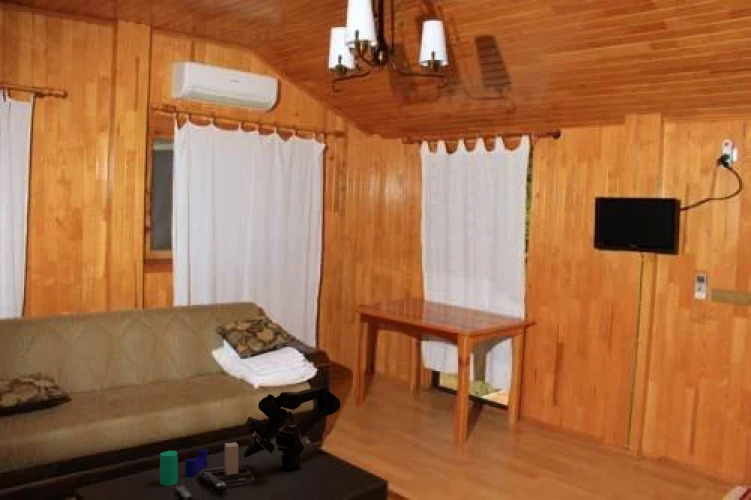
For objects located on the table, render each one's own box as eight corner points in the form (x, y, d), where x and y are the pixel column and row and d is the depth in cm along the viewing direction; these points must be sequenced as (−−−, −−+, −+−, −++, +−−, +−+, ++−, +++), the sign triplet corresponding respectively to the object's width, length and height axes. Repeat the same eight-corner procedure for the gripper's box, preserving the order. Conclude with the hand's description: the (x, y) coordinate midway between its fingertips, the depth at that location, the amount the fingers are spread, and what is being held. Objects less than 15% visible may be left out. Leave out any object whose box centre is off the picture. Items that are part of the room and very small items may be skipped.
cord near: (246, 484, 237) (246, 481, 237) (247, 485, 236) (247, 482, 236) (228, 487, 234) (228, 483, 234) (228, 488, 233) (228, 484, 233)
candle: (161, 487, 233) (161, 452, 233) (158, 481, 239) (158, 447, 238) (179, 484, 236) (179, 450, 236) (175, 478, 242) (175, 445, 241)
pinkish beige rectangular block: (236, 471, 244) (237, 442, 244) (239, 476, 240) (239, 445, 240) (223, 473, 242) (223, 443, 242) (225, 478, 238) (225, 447, 238)
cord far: (246, 466, 254) (246, 462, 254) (248, 469, 251) (248, 465, 251) (201, 472, 247) (201, 468, 247) (203, 475, 245) (203, 471, 245)
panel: (246, 470, 250) (246, 465, 250) (254, 482, 239) (254, 476, 239) (208, 475, 244) (208, 470, 244) (214, 488, 233) (214, 482, 233)
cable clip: (195, 464, 256) (195, 449, 255) (207, 465, 255) (207, 450, 255) (181, 476, 244) (181, 460, 243) (193, 477, 243) (193, 461, 243)
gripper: (252, 402, 253) (222, 435, 249) (266, 416, 236) (234, 451, 232) (272, 421, 257) (243, 453, 252) (287, 435, 240) (256, 470, 235)
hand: (244, 456), depth 243 cm, fingers closed
